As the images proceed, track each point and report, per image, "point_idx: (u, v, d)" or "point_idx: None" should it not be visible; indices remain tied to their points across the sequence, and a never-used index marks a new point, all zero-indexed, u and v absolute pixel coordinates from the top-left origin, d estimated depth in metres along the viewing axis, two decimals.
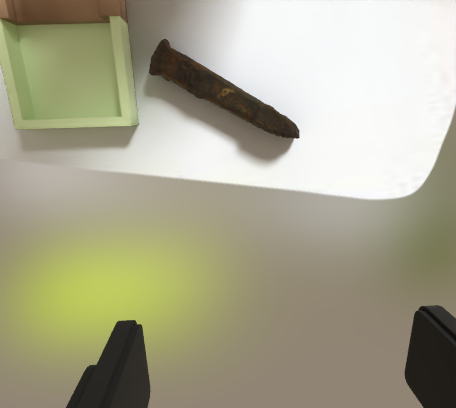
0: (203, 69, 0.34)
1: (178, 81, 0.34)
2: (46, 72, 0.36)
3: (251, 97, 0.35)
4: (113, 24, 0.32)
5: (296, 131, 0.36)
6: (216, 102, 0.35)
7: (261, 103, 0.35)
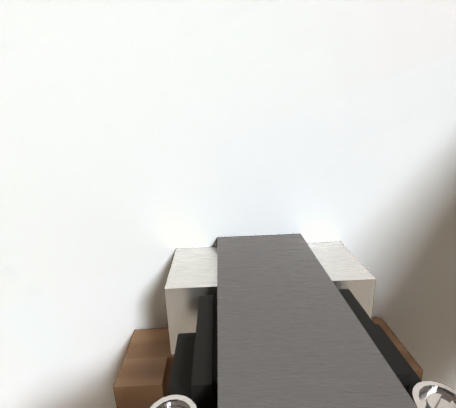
0: None
1: None
2: None
3: None
4: None
5: None
6: None
7: None
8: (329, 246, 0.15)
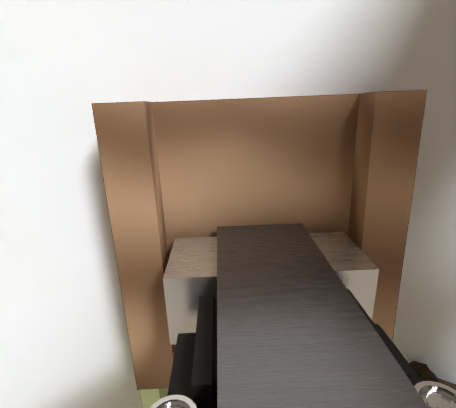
0: None
1: None
2: None
3: None
4: None
5: None
6: None
7: None
8: (331, 235, 0.14)
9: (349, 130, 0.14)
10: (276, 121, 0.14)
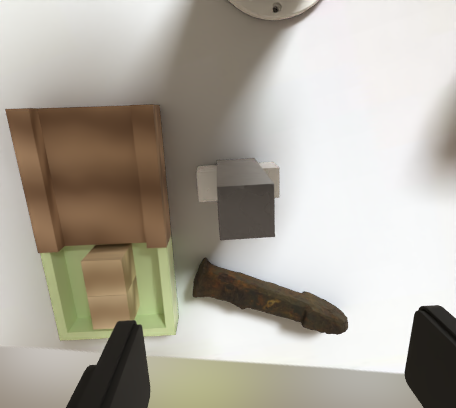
0: (246, 286, 0.34)
1: None
2: None
3: (296, 302, 0.35)
4: (161, 253, 0.32)
5: (346, 326, 0.35)
6: None
7: (307, 306, 0.35)
8: (266, 162, 0.33)
9: None
10: (97, 117, 0.29)
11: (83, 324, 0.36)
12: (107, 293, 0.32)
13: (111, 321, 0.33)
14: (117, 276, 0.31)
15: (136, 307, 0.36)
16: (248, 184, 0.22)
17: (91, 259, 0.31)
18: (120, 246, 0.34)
